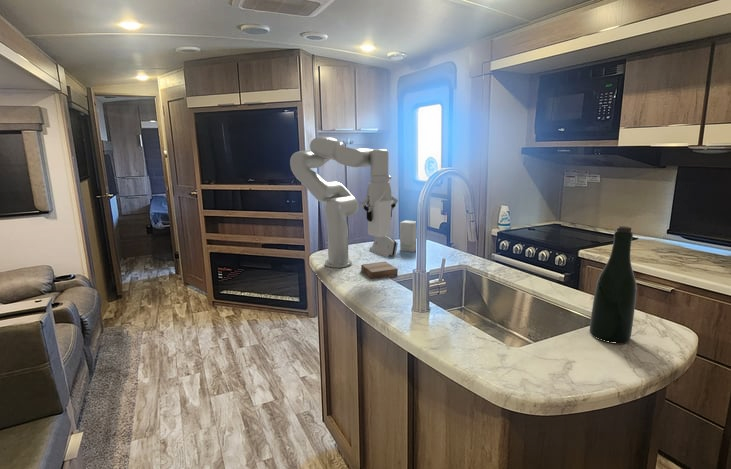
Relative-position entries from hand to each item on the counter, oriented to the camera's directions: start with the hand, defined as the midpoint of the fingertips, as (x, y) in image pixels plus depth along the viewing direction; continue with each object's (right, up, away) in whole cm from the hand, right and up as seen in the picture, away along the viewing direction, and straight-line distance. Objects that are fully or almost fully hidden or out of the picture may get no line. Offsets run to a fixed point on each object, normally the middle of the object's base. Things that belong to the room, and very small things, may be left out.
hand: (379, 220), depth 172 cm
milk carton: (0, -7, +1) cm, 7 cm away
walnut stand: (0, -23, +5) cm, 24 cm away
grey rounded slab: (+4, -16, +38) cm, 42 cm away
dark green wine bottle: (+66, -36, -54) cm, 92 cm away
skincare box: (+17, -15, +43) cm, 49 cm away
